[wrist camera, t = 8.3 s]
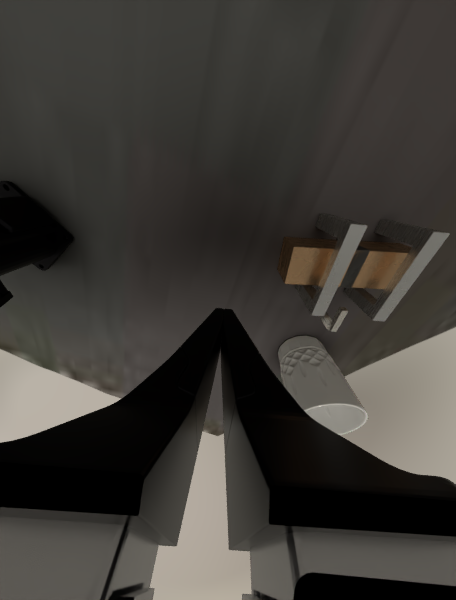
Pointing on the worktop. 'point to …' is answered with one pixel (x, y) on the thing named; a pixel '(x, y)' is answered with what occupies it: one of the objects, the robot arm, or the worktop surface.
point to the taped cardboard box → (360, 272)
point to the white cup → (319, 385)
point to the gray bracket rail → (346, 245)
